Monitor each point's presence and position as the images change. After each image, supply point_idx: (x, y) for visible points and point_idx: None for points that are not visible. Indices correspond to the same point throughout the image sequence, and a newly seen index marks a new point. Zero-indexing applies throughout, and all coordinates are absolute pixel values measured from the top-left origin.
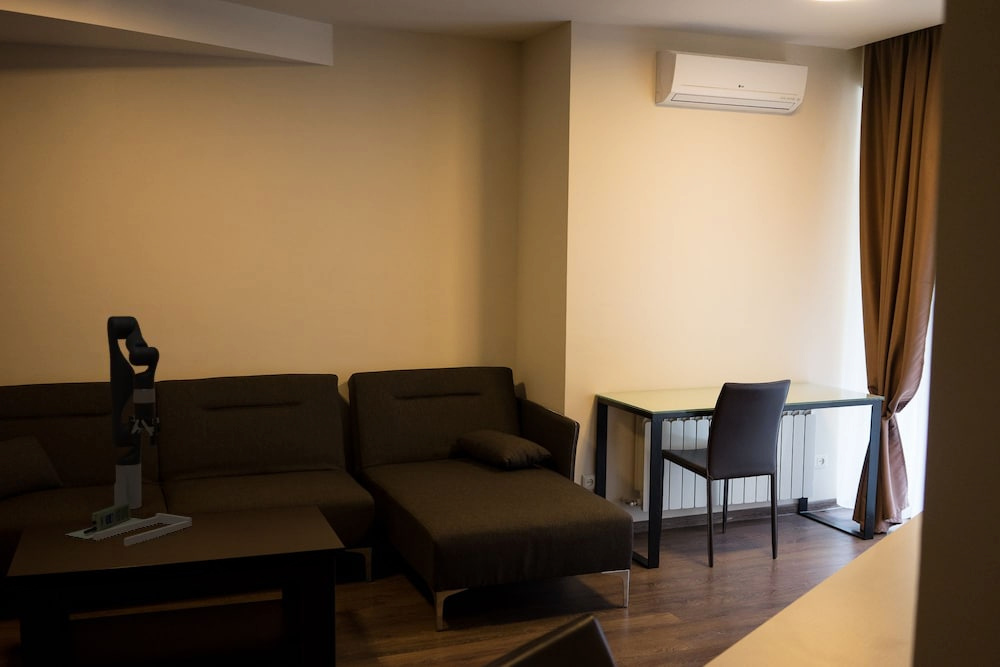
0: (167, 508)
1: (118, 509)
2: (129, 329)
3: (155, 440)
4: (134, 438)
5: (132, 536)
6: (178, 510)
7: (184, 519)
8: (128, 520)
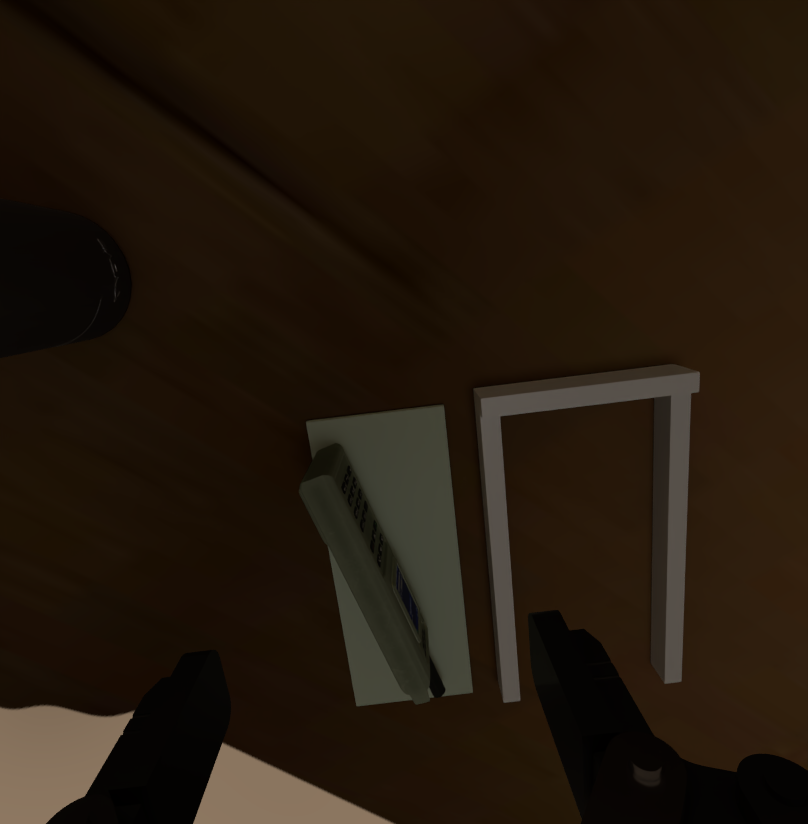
0: (246, 166)
1: (373, 553)
2: None
3: (614, 688)
4: (201, 795)
5: (671, 654)
6: (337, 162)
7: (670, 393)
8: (350, 460)
